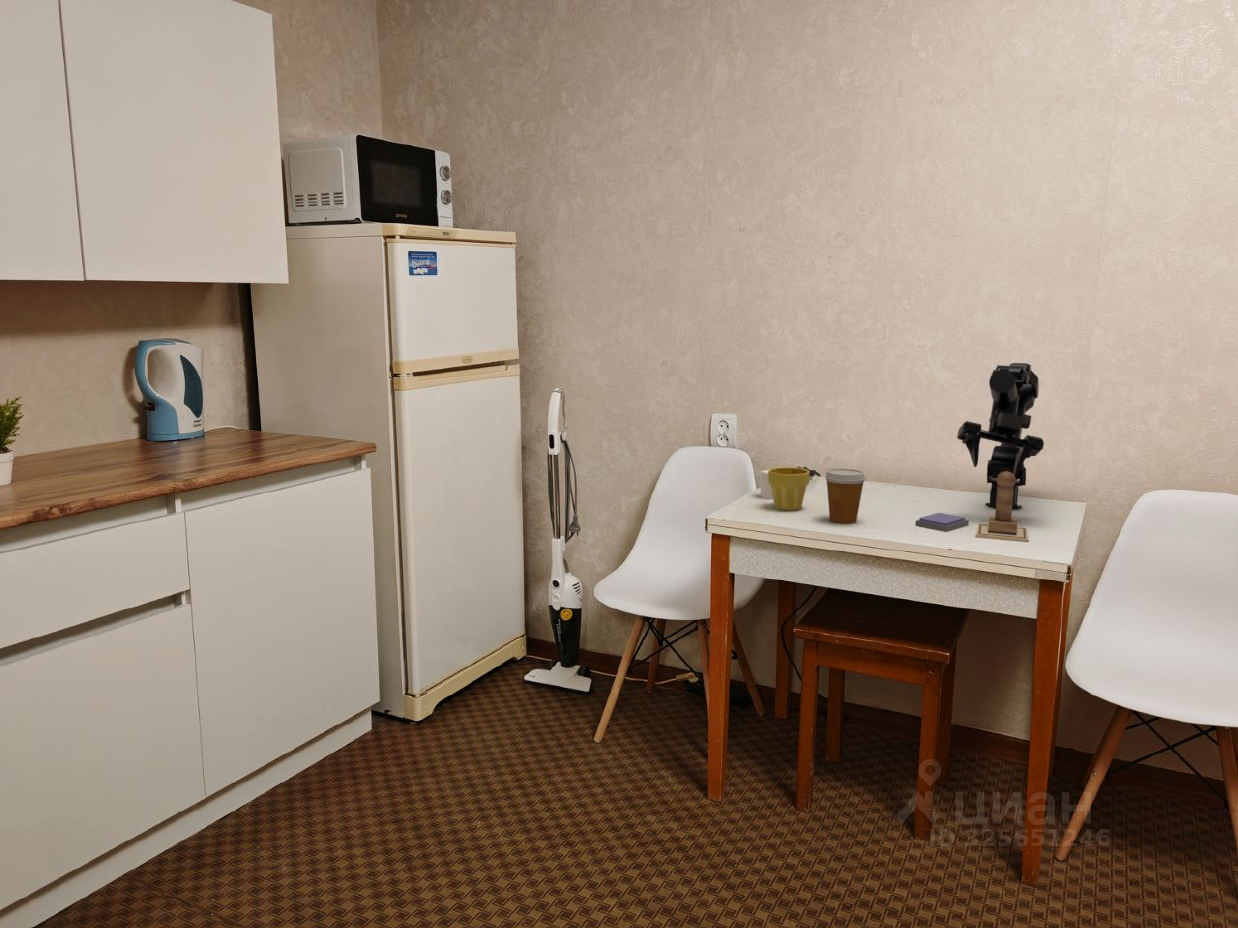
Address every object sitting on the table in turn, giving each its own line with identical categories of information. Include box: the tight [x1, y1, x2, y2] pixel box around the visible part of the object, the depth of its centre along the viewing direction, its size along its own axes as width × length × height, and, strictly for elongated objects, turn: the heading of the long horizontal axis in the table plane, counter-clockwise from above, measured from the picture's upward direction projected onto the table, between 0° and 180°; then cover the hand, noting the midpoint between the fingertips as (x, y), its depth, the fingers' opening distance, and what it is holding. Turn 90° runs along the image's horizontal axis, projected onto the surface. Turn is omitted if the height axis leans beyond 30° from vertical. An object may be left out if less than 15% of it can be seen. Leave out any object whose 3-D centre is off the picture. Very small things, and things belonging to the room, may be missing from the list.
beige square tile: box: [975, 523, 1030, 543], centre depth 215 cm, size 11×11×1 cm
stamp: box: [987, 471, 1018, 535], centre depth 214 cm, size 6×6×14 cm
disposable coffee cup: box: [824, 468, 866, 525], centre depth 226 cm, size 10×10×12 cm
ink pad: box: [915, 512, 970, 532], centre depth 222 cm, size 10×8×2 cm
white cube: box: [758, 469, 774, 500], centre depth 253 cm, size 7×7×7 cm
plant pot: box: [768, 466, 810, 511], centre depth 239 cm, size 10×10×10 cm
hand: (995, 471), depth 222 cm, fingers open, 9 cm apart
